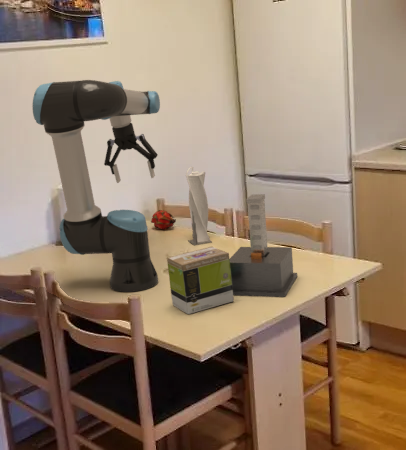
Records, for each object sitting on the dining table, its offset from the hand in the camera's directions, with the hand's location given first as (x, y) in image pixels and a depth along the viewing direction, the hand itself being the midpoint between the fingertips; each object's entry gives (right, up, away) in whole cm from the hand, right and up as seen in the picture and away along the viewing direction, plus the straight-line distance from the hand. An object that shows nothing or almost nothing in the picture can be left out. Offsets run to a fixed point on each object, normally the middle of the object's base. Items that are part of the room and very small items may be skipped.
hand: (135, 179), depth 261 cm
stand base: (+43, -35, -52) cm, 76 cm away
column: (+42, -33, -52) cm, 75 cm away
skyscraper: (+24, -23, +3) cm, 34 cm away
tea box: (+25, -40, -62) cm, 78 cm away
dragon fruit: (+9, -19, +26) cm, 34 cm away
